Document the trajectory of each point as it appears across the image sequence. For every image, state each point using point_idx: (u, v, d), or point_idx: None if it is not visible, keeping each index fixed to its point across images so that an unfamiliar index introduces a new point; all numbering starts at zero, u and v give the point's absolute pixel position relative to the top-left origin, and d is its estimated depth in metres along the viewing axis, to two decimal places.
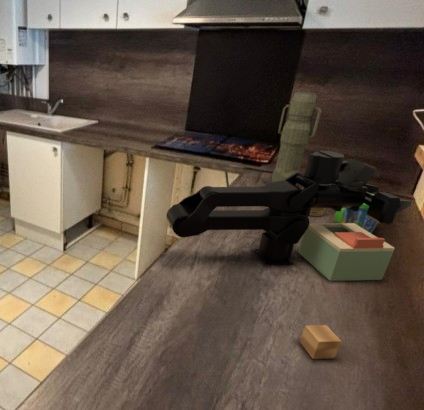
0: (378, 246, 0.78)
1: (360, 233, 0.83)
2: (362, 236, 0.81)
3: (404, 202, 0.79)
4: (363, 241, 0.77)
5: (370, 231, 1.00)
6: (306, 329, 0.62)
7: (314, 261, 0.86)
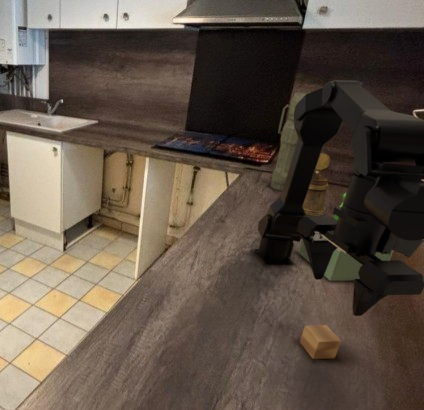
0: None
1: None
2: None
3: (371, 305, 0.52)
4: None
5: None
6: (306, 329, 0.62)
7: None
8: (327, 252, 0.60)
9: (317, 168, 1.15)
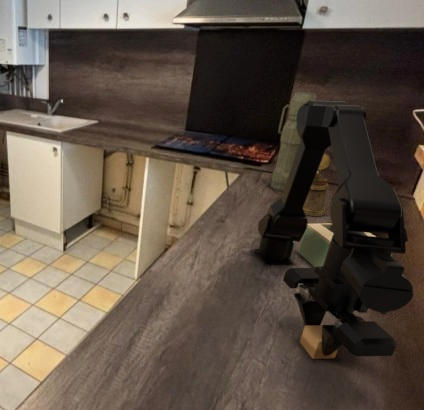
0: None
1: None
2: None
3: (337, 347, 0.58)
4: None
5: None
6: (306, 329, 0.62)
7: (314, 261, 0.86)
8: (320, 312, 0.62)
9: None
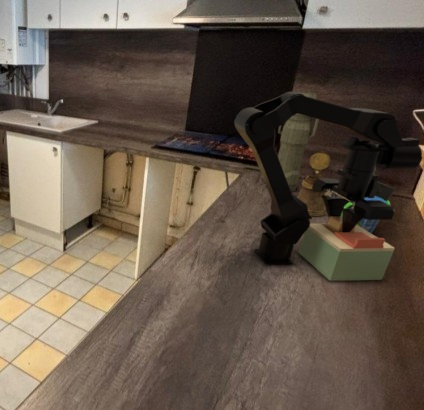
0: (378, 246, 0.77)
1: (360, 233, 0.83)
2: (362, 236, 0.81)
3: (353, 226, 0.82)
4: (363, 241, 0.77)
5: (370, 231, 1.00)
6: (330, 218, 0.86)
7: (314, 261, 0.86)
8: (340, 206, 0.86)
9: (317, 168, 1.15)
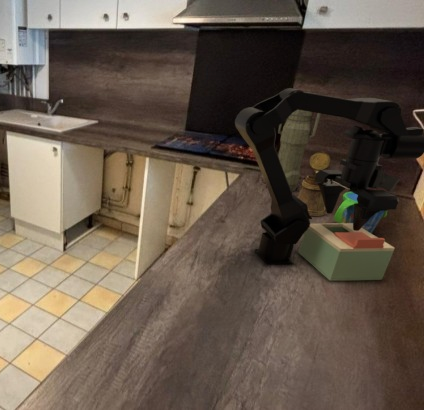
0: (378, 246, 0.77)
1: (360, 233, 0.83)
2: (362, 236, 0.81)
3: (365, 222, 0.79)
4: (363, 241, 0.77)
5: (370, 231, 1.00)
6: None
7: (314, 261, 0.86)
8: (336, 193, 0.88)
9: (317, 168, 1.15)
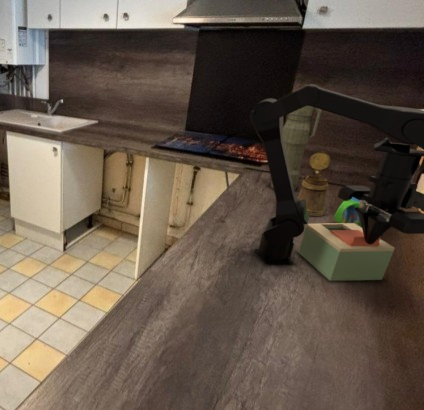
0: (374, 244, 0.79)
1: (357, 231, 0.84)
2: (359, 234, 0.82)
3: (379, 235, 0.75)
4: (359, 239, 0.78)
5: None
6: None
7: (314, 261, 0.86)
8: None
9: (317, 168, 1.15)
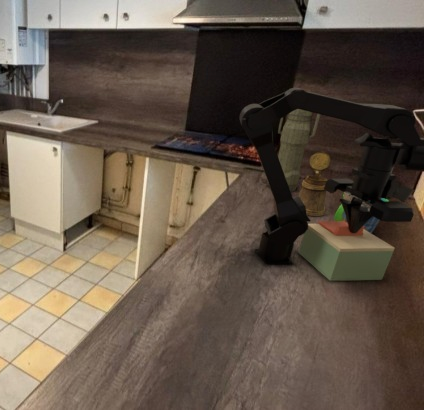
0: (358, 233, 0.83)
1: (342, 222, 0.88)
2: (344, 224, 0.87)
3: (362, 225, 0.80)
4: (344, 228, 0.82)
5: (370, 231, 1.00)
6: None
7: (314, 261, 0.86)
8: None
9: (317, 168, 1.15)
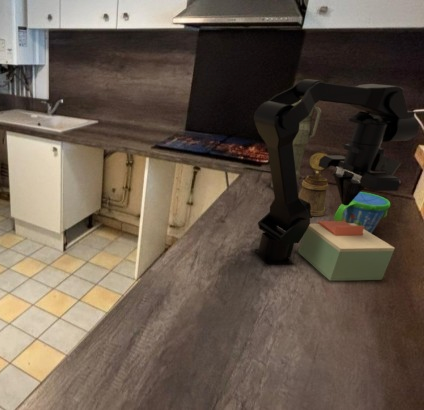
0: (358, 233, 0.83)
1: (342, 222, 0.88)
2: (344, 224, 0.87)
3: (353, 197, 0.86)
4: (344, 228, 0.82)
5: (370, 231, 1.00)
6: None
7: (314, 261, 0.86)
8: None
9: (317, 168, 1.15)
